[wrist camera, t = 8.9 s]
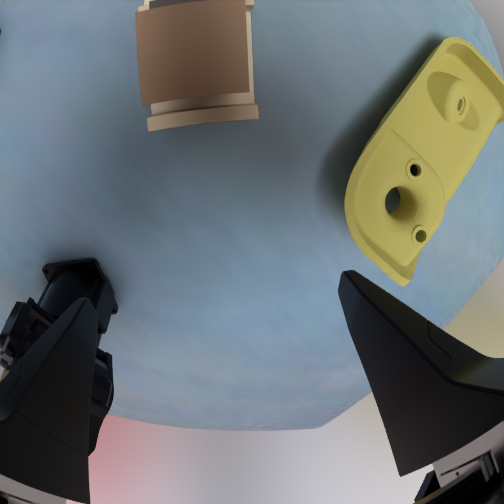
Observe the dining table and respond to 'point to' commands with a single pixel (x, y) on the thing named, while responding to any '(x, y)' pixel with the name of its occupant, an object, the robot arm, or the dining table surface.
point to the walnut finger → (192, 49)
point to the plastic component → (422, 155)
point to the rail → (207, 99)
